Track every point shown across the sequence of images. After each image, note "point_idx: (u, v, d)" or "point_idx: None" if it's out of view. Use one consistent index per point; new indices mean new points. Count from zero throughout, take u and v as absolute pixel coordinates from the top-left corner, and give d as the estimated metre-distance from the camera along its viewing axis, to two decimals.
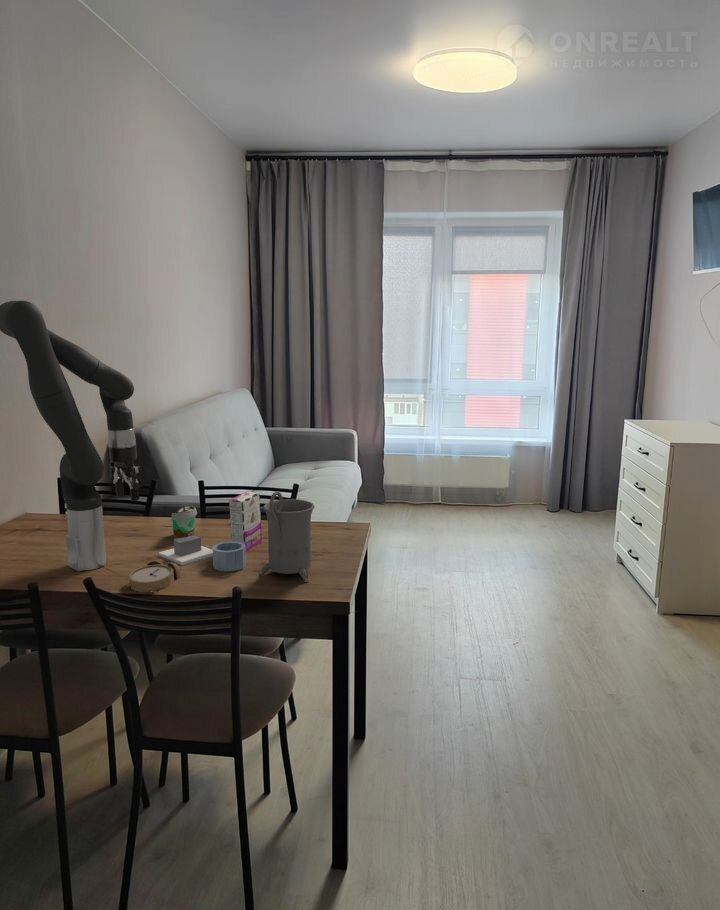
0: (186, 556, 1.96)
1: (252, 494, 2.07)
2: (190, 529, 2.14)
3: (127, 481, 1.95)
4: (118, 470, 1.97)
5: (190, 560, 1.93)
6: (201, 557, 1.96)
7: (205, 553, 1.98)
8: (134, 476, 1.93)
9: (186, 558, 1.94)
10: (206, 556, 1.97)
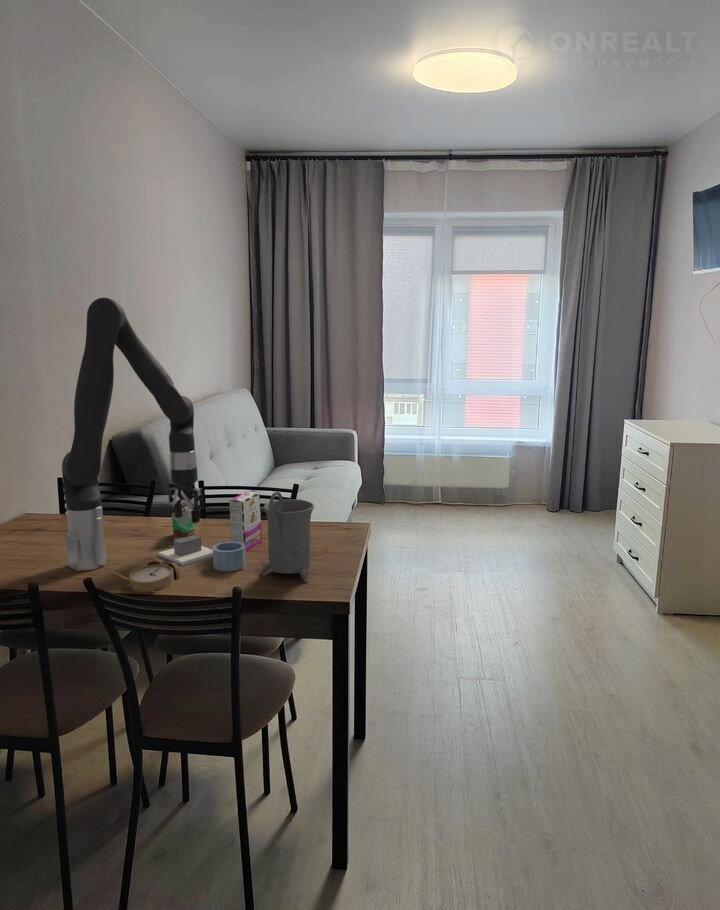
0: (186, 556, 1.96)
1: (252, 494, 2.07)
2: (190, 529, 2.14)
3: (188, 503, 1.93)
4: (179, 492, 1.96)
5: (190, 560, 1.93)
6: (201, 557, 1.96)
7: (205, 553, 1.98)
8: (196, 498, 1.91)
9: (186, 558, 1.94)
10: (206, 556, 1.97)
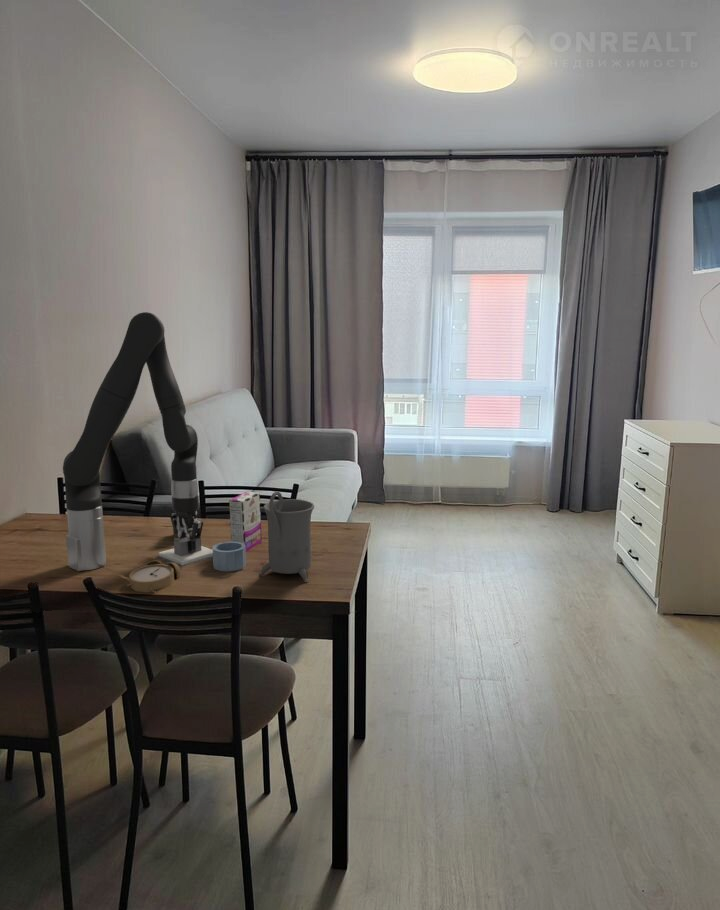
0: (186, 556, 1.96)
1: (252, 494, 2.07)
2: (190, 529, 2.14)
3: (186, 533, 1.96)
4: (180, 519, 1.97)
5: (190, 560, 1.93)
6: (201, 557, 1.96)
7: (205, 553, 1.98)
8: (195, 531, 1.94)
9: (186, 558, 1.94)
10: (206, 556, 1.97)
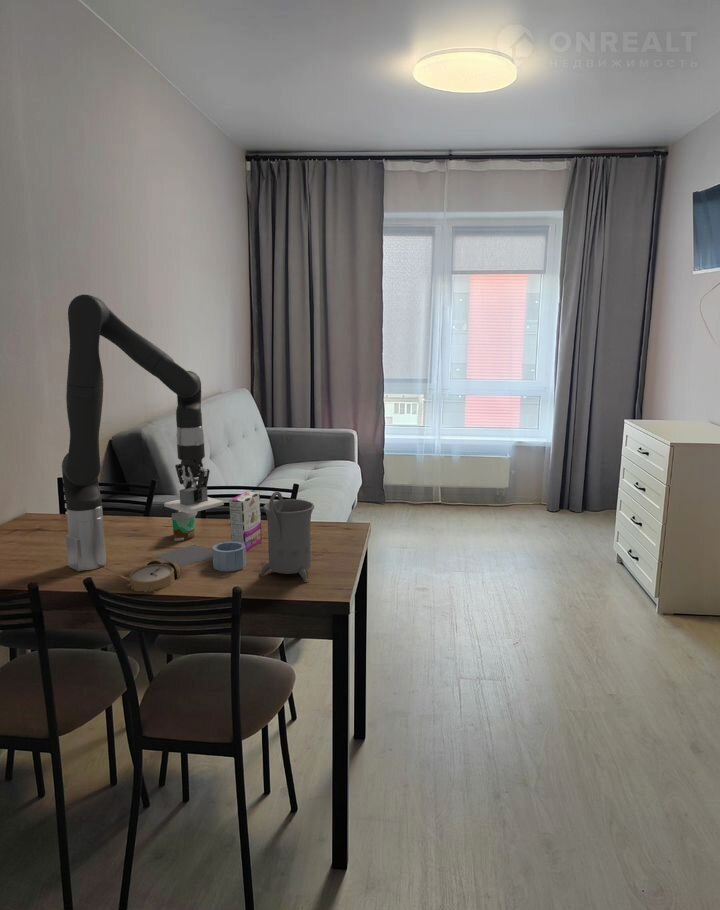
0: (192, 505, 1.92)
1: (252, 494, 2.07)
2: (190, 529, 2.14)
3: (192, 481, 1.92)
4: (186, 468, 1.93)
5: (196, 508, 1.89)
6: (208, 506, 1.92)
7: (211, 503, 1.94)
8: (201, 479, 1.89)
9: (193, 507, 1.90)
10: (213, 505, 1.93)
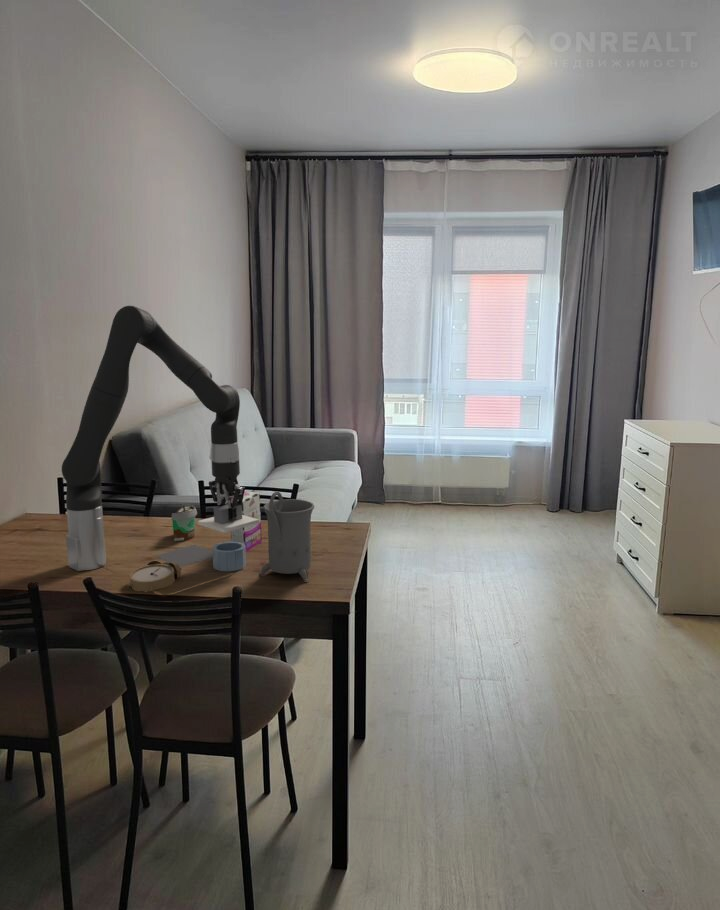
0: (227, 524, 1.85)
1: (252, 494, 2.07)
2: (190, 529, 2.14)
3: (227, 499, 1.85)
4: (220, 485, 1.86)
5: (232, 527, 1.83)
6: (243, 525, 1.86)
7: (246, 521, 1.88)
8: (237, 497, 1.83)
9: (228, 526, 1.84)
10: (248, 524, 1.87)
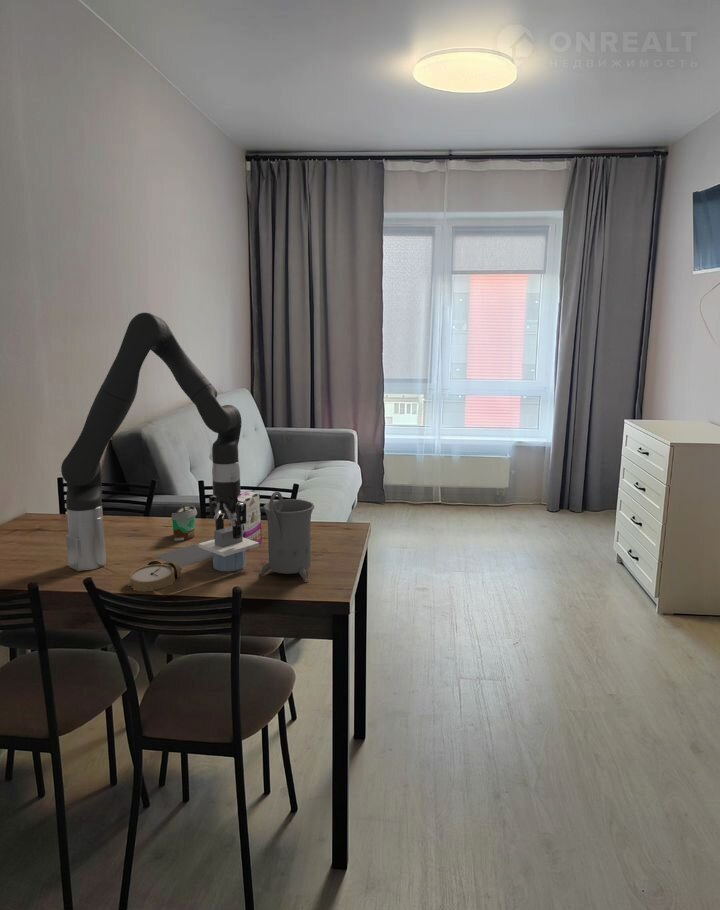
0: (228, 547, 1.86)
1: (252, 494, 2.07)
2: (190, 529, 2.14)
3: (230, 518, 1.85)
4: (220, 505, 1.87)
5: (232, 551, 1.84)
6: (243, 548, 1.87)
7: (246, 544, 1.89)
8: (239, 513, 1.83)
9: (228, 549, 1.85)
10: (248, 547, 1.88)
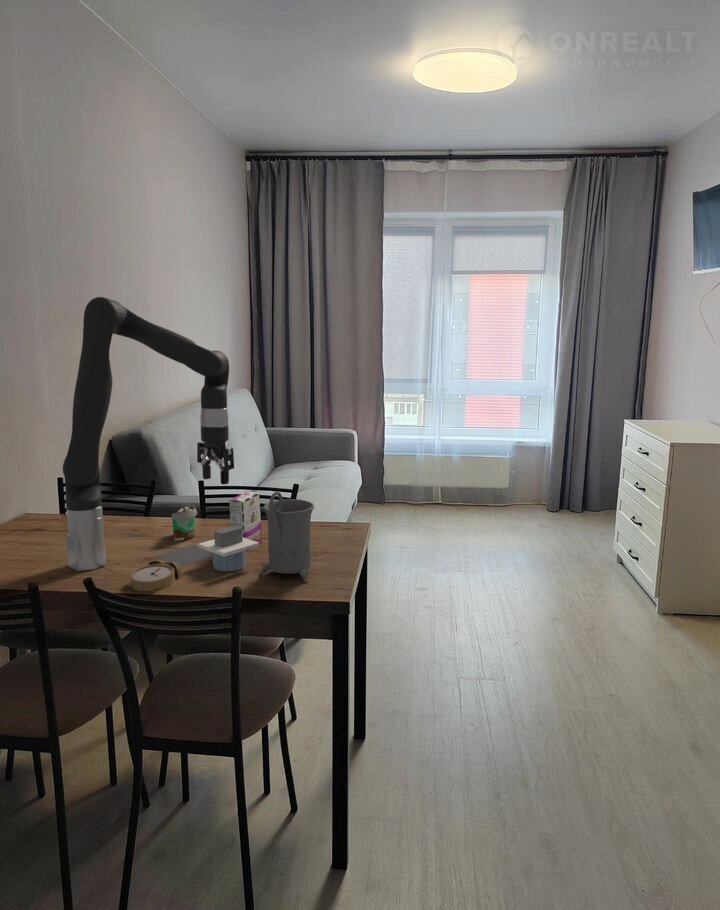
0: (228, 547, 1.86)
1: (252, 494, 2.07)
2: (190, 529, 2.14)
3: (218, 463, 1.85)
4: (208, 451, 1.87)
5: (232, 551, 1.84)
6: (243, 548, 1.87)
7: (246, 544, 1.89)
8: (227, 457, 1.82)
9: (228, 549, 1.85)
10: (248, 547, 1.88)
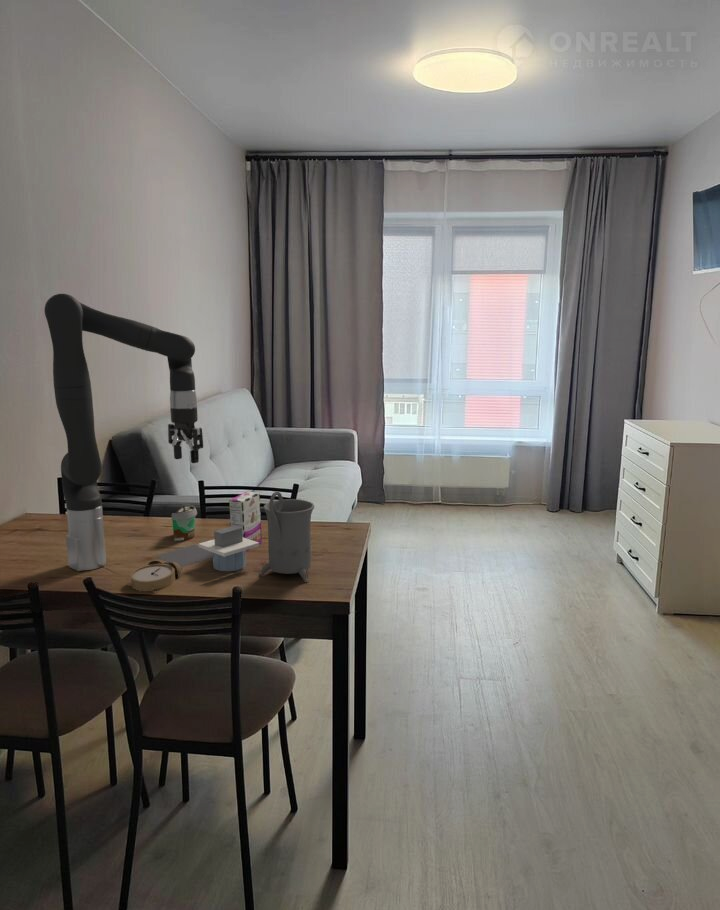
0: (228, 547, 1.86)
1: (252, 494, 2.07)
2: (190, 529, 2.14)
3: (188, 442, 1.94)
4: (178, 432, 1.96)
5: (232, 551, 1.84)
6: (243, 548, 1.87)
7: (246, 544, 1.89)
8: (196, 437, 1.92)
9: (228, 549, 1.85)
10: (248, 547, 1.88)
